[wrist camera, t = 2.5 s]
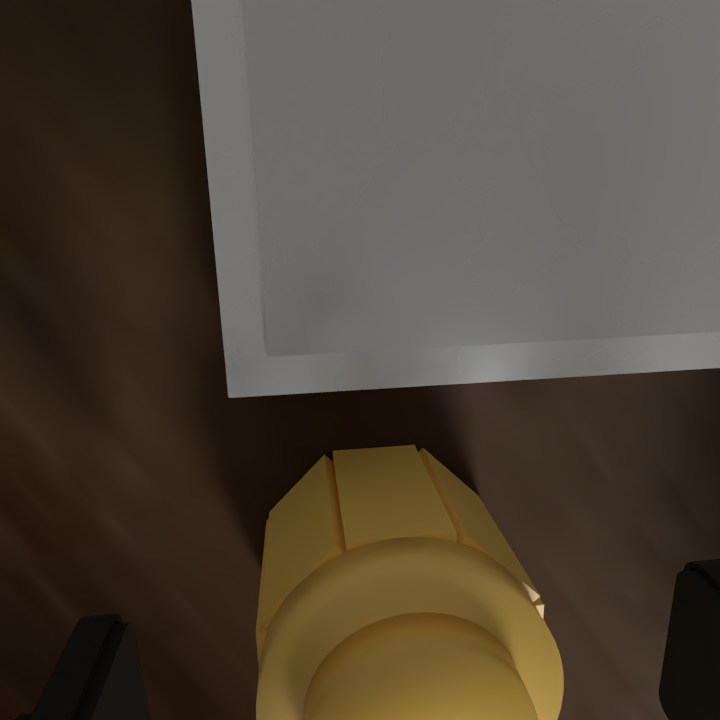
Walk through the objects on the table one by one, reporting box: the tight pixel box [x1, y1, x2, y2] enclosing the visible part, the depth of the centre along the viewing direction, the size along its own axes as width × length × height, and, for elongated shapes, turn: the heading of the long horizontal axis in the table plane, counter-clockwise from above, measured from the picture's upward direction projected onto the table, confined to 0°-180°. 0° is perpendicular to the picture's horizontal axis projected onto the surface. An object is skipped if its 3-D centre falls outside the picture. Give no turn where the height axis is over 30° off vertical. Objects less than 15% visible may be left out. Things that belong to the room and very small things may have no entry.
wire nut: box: [256, 445, 564, 720], centre depth 12 cm, size 5×5×6 cm
